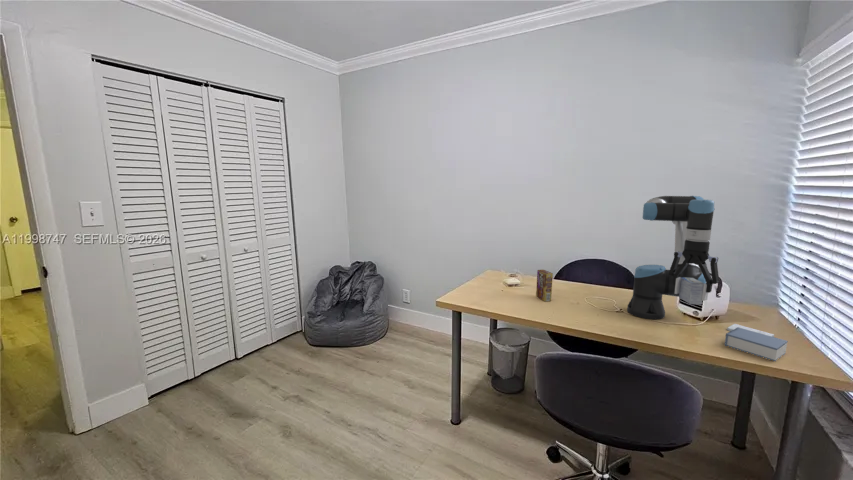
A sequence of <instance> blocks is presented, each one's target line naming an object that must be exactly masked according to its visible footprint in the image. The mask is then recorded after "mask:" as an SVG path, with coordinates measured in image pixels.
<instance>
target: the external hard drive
mask: <svg viewBox="0 0 853 480" xmlns="http://www.w3.org/2000/svg"><path fill="white" fill-rule="evenodd" d="M737 327H739V328H742V329H746V330H750V331H753V332H757V333H761V334H764V335H768V336H771V337H775V334H774V333H769V332H767V331H764V330H763V331H762V330H759V329H756V328H752V327H747V326H745V325H741V324H738V323H733V324H731V325H730V326H728V327H727V328H726V330H727V331H728V332H730V331H732V330H734V329H736V328H737Z"/></svg>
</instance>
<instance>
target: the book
mask: <svg viewBox="0 0 853 480" xmlns="http://www.w3.org/2000/svg"><path fill="white" fill-rule="evenodd" d="M724 345H725V347H727V346H729V347H728V348H730V347H732V348H731V349H734V348H735V349H734V350H737V349H738V350H737V351H740V350H741V351H740V352H743V351H744V353H746V352H748V353H747V354H749V353H751V354H750V355H752V354H754V355H753V356H756V355H757V357H759V356H760V357H759V358H762V357H764V358H763V359H765V358H767V359H766V360H768V359H770V360H769V361H771V360H773V361H772V362H774V361H775V362H777V361H778V360H779V359H781V358H782V357H783V356H785V355H786V354H785V353H786V352H787V348H788V347H787V346H788V340H785V339H783V338H778V337H775V336H774V337H771V336H768V335H764V334H761V333H757V332H753V331H750V330H746V329H742V328H739V327H737V328H736V329H734V330H732V331H728V332H727V333H725V339H724ZM782 355H783V356H782ZM781 356H782V357H781ZM778 358H779V359H778ZM777 359H778V360H777ZM776 360H777V361H776Z"/></svg>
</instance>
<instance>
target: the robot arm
mask: <svg viewBox="0 0 853 480" xmlns="http://www.w3.org/2000/svg"><path fill="white" fill-rule="evenodd" d="M714 212H715V201H714V200H713V199H704V197H702V196H697V195H688V196H687V195H663V196H657V197H653V198H650V199H649V200H647V201H646V202H644V203H643V208H642V220H645V221H649V222H650V221H652V222H655V221H659V222H660V221H661V222H663V221H664V222H665V221H666V222H671V223H673V224H674V225H675V227H674V231H675V234H674V253H673V260H672V262H671V265H670V267H669V269H667V268H666V266H665V265H659V264H642V265H639V266H637V267H636V268H635V270H634V275H633V278H634V281H633V288H632V289H633V290H632V297H631V298H630V299H629V302H628V304H627V308H626V311H627V312H628V314H630V315H632V316H634V317H637V318H642V319H645V320H646V319H647V320H663V319H664V318H665V317H666V311H665V307H664V304H663V296H672V297H678V298H679V292H680V283H681V278H694V279H696V280H698V281H700V282H702V283H704V287H703V295H702V302H703V301H704V302H705V301H707V300H708V297H709V293H711V292H712V289H713V285H717V284H719V283H720V276H719V268H718V262H719V257H718V256H711V255H710V254H709V251H710V241H711V237H712V236H711V234H712V226H713V225H712V224H713V218H714ZM706 261H709V262H710V271H709V269H708V266H707V262H706ZM710 273H711V274H710Z"/></svg>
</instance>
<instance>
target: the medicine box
mask: <svg viewBox="0 0 853 480" xmlns="http://www.w3.org/2000/svg"><path fill="white" fill-rule="evenodd" d="M703 287H704V283H702V282H700V281H698V280H696V279H694V278H681V283H680V292H679V297H678V298H679V299H680V300H683V301H684V302H686V303H688V304H689V305H702V304H703V300H702V295H703Z"/></svg>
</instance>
